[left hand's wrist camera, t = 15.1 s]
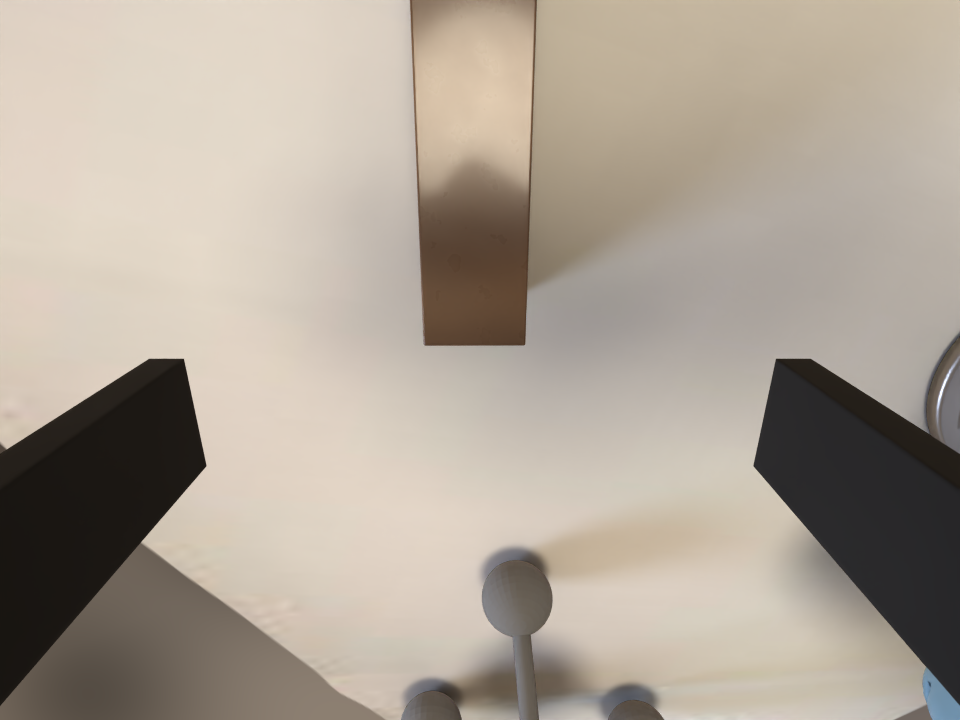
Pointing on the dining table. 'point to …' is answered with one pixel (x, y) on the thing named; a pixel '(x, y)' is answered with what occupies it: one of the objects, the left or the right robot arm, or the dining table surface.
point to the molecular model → (516, 644)
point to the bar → (473, 166)
